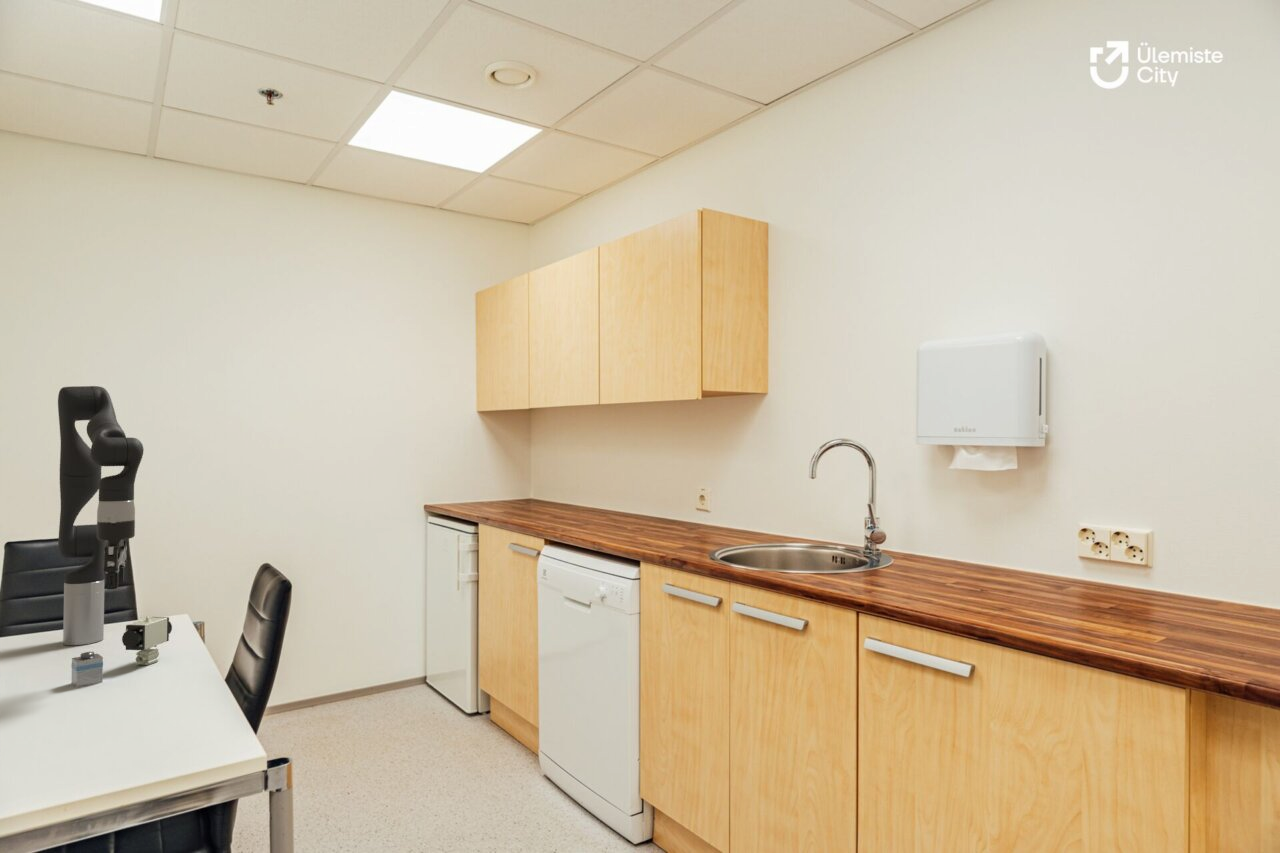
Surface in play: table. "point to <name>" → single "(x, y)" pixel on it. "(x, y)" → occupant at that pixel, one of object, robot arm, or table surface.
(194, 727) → the table surface
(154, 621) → the pneumatic valve
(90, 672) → the grey box with knob
